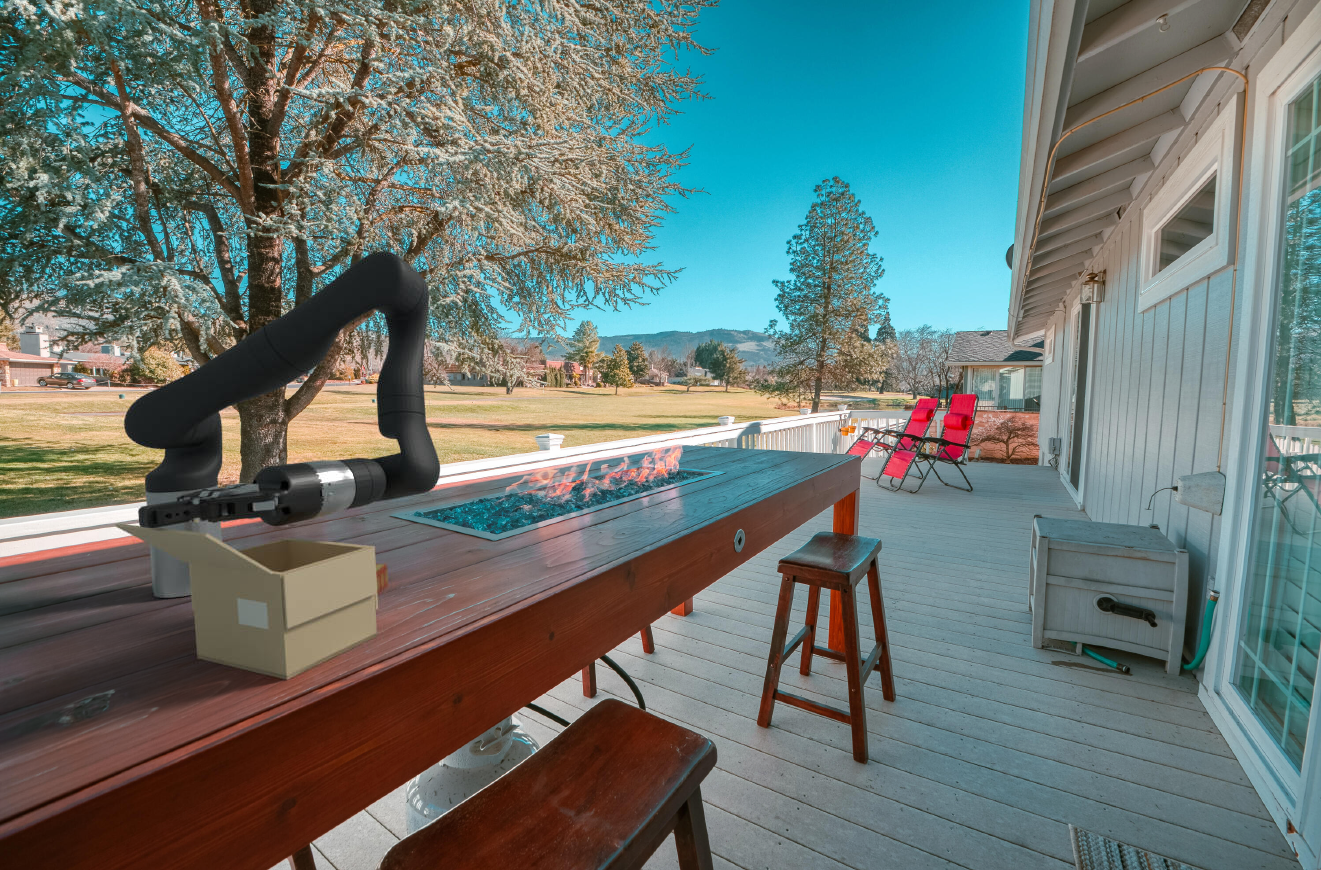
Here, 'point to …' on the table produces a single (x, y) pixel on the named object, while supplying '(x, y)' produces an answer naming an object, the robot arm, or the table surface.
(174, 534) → the near flap
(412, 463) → the robot arm
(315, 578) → the kraft box
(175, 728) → the table surface
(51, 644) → the table surface
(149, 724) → the table surface
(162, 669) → the table surface
